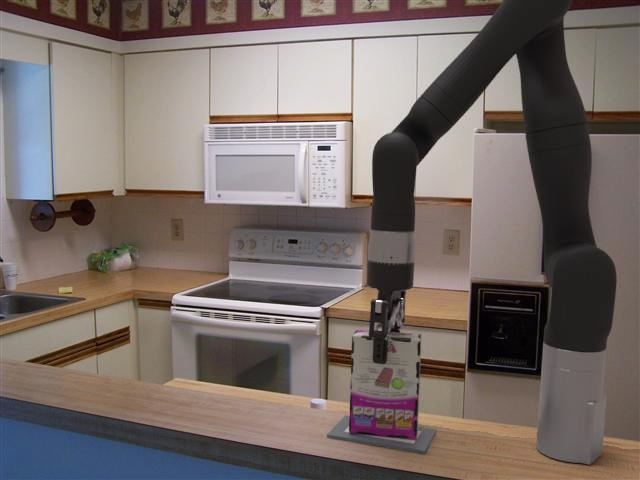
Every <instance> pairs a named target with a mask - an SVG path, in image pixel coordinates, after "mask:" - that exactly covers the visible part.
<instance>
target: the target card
mask: <svg viewBox="0 0 640 480" xmlns="http://www.w3.org/2000/svg"><path fill="white" fill-rule="evenodd" d="M349 416H350V415H346V414H345V415H344V416H343V417H342V418H341V419H340V420H339V421H338V422H337V423H336V424H335V426H333V428H332V429H331V430H330V431H329V432H327V434H326V438H328V439H334V440H339V441H340V440H341V441H346V442H352V443H358V444H362V443H363V445H368V444H370V446H374V445H377V446H376V447H380V446H383V447H382V448H386V447H389V448H388V449H392V448H394V449H393V450H397V449H401V450H400V451H403V450H407V451H406V452H409V451H410V452H409V453H417V454H422V455H426V453H427V451H428V449H429V448H428V447H430V445H431V444H430V443H432V442H433V440H434V437H435V436H436V433H437V429H435V428H428V427H424V426H418V429H417V438H416V439H407V438H395V437H384V436H373V435H362V434H352V433H349Z"/></svg>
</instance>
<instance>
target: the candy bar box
mask: <svg viewBox="0 0 640 480" xmlns="http://www.w3.org/2000/svg"><path fill="white" fill-rule="evenodd" d="M373 340H374V339H372V338H370V337H369V330H364V329H356V330H355V331H354V333H352V336H351V361H350V389H349V390H350V391H349V393H350V395H349V415H348V416H349V433H352V434H362V435H373V436H384V437H395V438H407V439H416V438H417V429H418V427H419V410H420V409H419V408H420V384H421V381H420V380H421V355H422V352H421V351H422V333H409V332H401V331H400V332H390V334H389V339H388V355H387V362H386V363H385V364H377V363H374V362H373Z"/></svg>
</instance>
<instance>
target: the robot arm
mask: <svg viewBox="0 0 640 480" xmlns="http://www.w3.org/2000/svg"><path fill="white" fill-rule="evenodd" d="M572 1H573V0H502V1H501V2H500V5H499V6H498V8H497V9H496V10H495V12H494V13H493V14H492V15H491V17H490V18H489V20H488V21H487V22H486V23H485V25H484V26H483V27H482V28H481V29H480V31H479V32H478V33H477V35H476V36H475V37H474V38H473V39H472V40H471V41H470V43H469V44H468V45H467V46H466V47H465V48H464V49H463V50H462V51H461V52H460V53H459V54H458V55H457V56H456V57H455V58H454V59H453V60H452V62H450V64H448V65H447V67H446V68H444V69H443V71H442V72H441V73H440V74H439V75H438V76H437V77H436V78H435V79H434V80H433V81H432V83H431V84H430V85H429V86H428V87H427V88H426V89H425V90H424V91H423V92H422V94H421V95H420V96H419V97H418V98H417V99H416V101H415V102H414V103H413V105H412V106H411V108H410V110H409V112H408V113H407V115H406V116H405V117H404V118H403V119H402V120H401V121H400V122H399V123H398V125H397V126H396V127H394V129H393V130H392V131H391V132H389V133H385V134H384V135H383V136H381V137H380V138H379V139H378V140H377V141H376V143H375V144H374V147H373V150H372V155H371V156H372V158H371V159H372V160H371V174H372V175H371V178H372V195H373V196H372V202H371V203H372V205H371V211H370V212H371V215H370V216H371V218H370V231H369V239H368V246H367V264H366V265H367V266H366V271H367V272H366V286H368V287H369V288H371V289H375V290H377V292H378V293H377V297H376V299H375V298H374V299H373V298H372V299H371V301H370V310H369V311H370V313H369V330H368V331H369V337H370V338H372V339H374V340H373V362H374V363H377V364H385V363H386V362H387V355H388V339H389V334H390V332H400V333H401V330H403V329H402V328H403V325H404V323H405V322H406V318H405V317H406V316H405V315H406V294H407V292H406V291H409V290H411V289H412V288H413V287H414V278H415V276H414V274H415V261H416V260H415V258H416V257H415V256H416V238H415V226H416V203H415V191H416V190H415V189H416V179H417V169H418V168H417V167H418V166H419V165H420V164H421V162H422V161H423V160H424V158H426V156H428V154H429V153H430V151H431V150H432V149H433V148H434V147H435V146H436V144H437V143H438V142H439V140H440V139H441V138H442V137H443V136H444V135H446V134H447V133H448V132H449V131H450V130H451V129H452V128H453V127H454V126H456V124H457V123H458V122H459V121H460V120H461V119H462V118H463V116H464V115H465V114H466V113H467V112H468V111H469V110H470V108H471V107H472V106H473V105H474V104H475V103H476V102H477V101H478V99H479V98H480V97H481V95H482V94H483V93H484V92H485V91H486V89H487V88H488V87H489V86H490V84H491V83H492V82H493V81H494V79H495V78H496V77H497V76H498V74H499V73H500V72H501V71H502V70H503V68H504V67H505V66H506V65H507V64H508V62H510V61H511V60H512V58H513V57H514V56H515V55H516V61H517V64H518V69H519V79H520V92H521V94H520V95H521V109H522V116H523V117H522V119H523V126H524V127H523V128H524V134H525V142H526V148H527V149H526V150H527V153H528V160H529V165H530V169H531V174H532V180H533V184H534V188H535V189H534V191H535V193H536V197H537V202H538V205H539V209H540V216H541V223H542V239H543V240H542V241H543V262H544V263H543V265H544V274H545V279H546V281H547V284H548V286H549V288H551V297H550V307H549V316H548V321H547V323H546V324H545V325H544V328H543V329H544V330H543V343H542V355H541V357H542V358H541V371H540V373H541V374H540V387H539V400H538V401H539V403H538V413H537V414H538V415H537V418H538V419H537V428H536V429H537V431H536V444H535V445H536V450H537V451H539V453H542V454H543V455H544V456H547V457H549V458H552V459H555V460H556V461H557V460H558V461H563V462H568V463H574V464H575V463H576V464H577V463H579V464H584V465H585V464H586V465H591V464H593V463H594V462H595V461H596V460H597V459H598V458H600V456H602V455H603V450H604V449H603V447H604V437H605V436H604V435H605V423H606V411H607V410H606V409H607V395H606V394H603V393H604V380H605V369H606V368H605V367H606V355H607V354H606V353H607V344H608V337H609V336H610V334H611V332H612V327H613V320H614V313H615V304H616V303H615V302H616V295H617V293H616V292H617V279H618V278H617V269H616V265H615V263H614V260H613V259H612V258H611V256H610V255H609V254H608V253H607V252H606V251H605V250H604V249H601V248H600V247H598V246H597V243H596V239H595V236H594V231H593V227H592V221H591V215H590V208H589V198H590V197H589V195H590V189H591V188H590V187H591V179H592V178H591V176H592V165H593V163H592V162H593V159H592V158H593V157H592V156H593V155H592V153H593V151H592V143H591V137H590V136H591V135H590V131H589V130H590V129H589V124H588V118H587V113H586V109H585V106H584V103H583V99H582V97H581V94H580V92H579V90H578V89H579V88H578V87H577V85H576V82H575V79H574V77H573V75H572V72H571V70H570V66H569V63H568V59H567V58H568V57H567V51H566V40H565V27H564V25H565V24H564V23H565V22H564V20H565V19H564V18H565V16H566V14H567V13H568V11H569V9H570V8H571V5H572ZM379 328H381V330H379Z"/></svg>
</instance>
